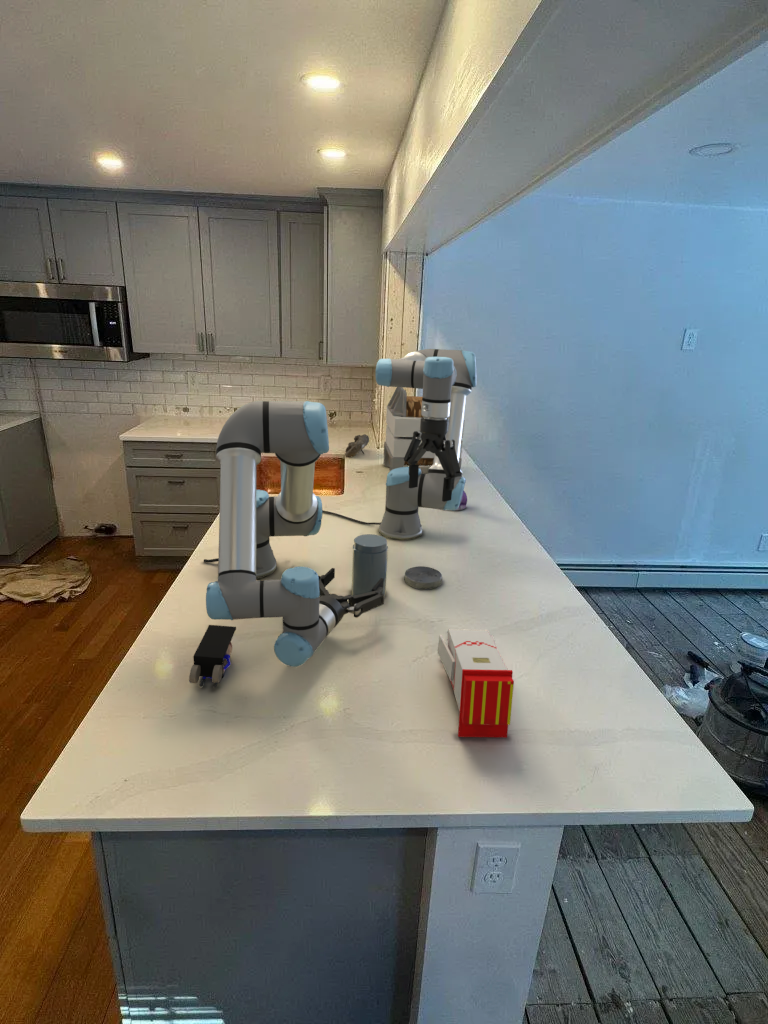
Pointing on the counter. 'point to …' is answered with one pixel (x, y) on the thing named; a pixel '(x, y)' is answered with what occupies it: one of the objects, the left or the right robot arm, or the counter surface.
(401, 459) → the white slatted box
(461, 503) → the figurine
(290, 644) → the left robot arm
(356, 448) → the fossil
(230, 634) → the black wheeled vehicle
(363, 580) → the jar
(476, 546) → the counter surface
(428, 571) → the lid
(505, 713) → the toy
